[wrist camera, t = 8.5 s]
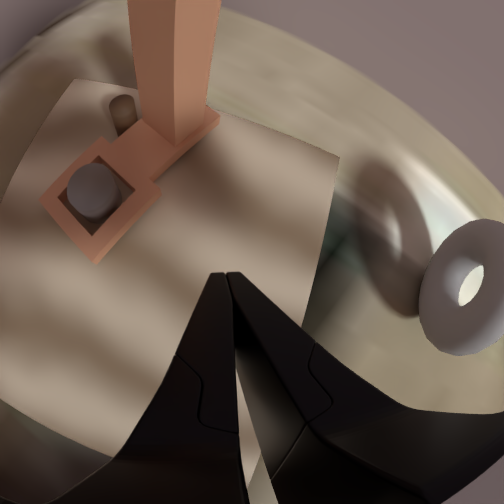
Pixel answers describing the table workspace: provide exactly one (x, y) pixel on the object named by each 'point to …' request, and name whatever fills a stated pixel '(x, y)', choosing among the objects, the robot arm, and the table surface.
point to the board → (144, 261)
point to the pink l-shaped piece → (150, 115)
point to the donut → (449, 283)
